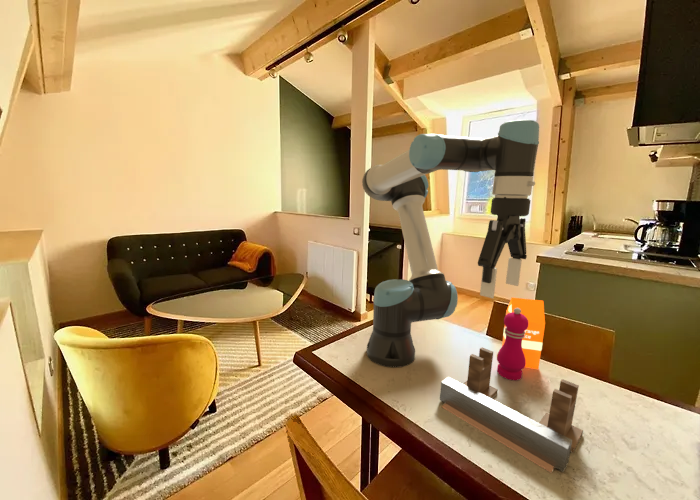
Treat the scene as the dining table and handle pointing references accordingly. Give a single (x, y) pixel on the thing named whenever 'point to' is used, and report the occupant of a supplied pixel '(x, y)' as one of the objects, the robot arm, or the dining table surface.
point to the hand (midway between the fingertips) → (500, 290)
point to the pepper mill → (513, 346)
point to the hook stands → (560, 402)
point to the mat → (500, 438)
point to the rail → (508, 423)
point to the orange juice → (530, 328)
